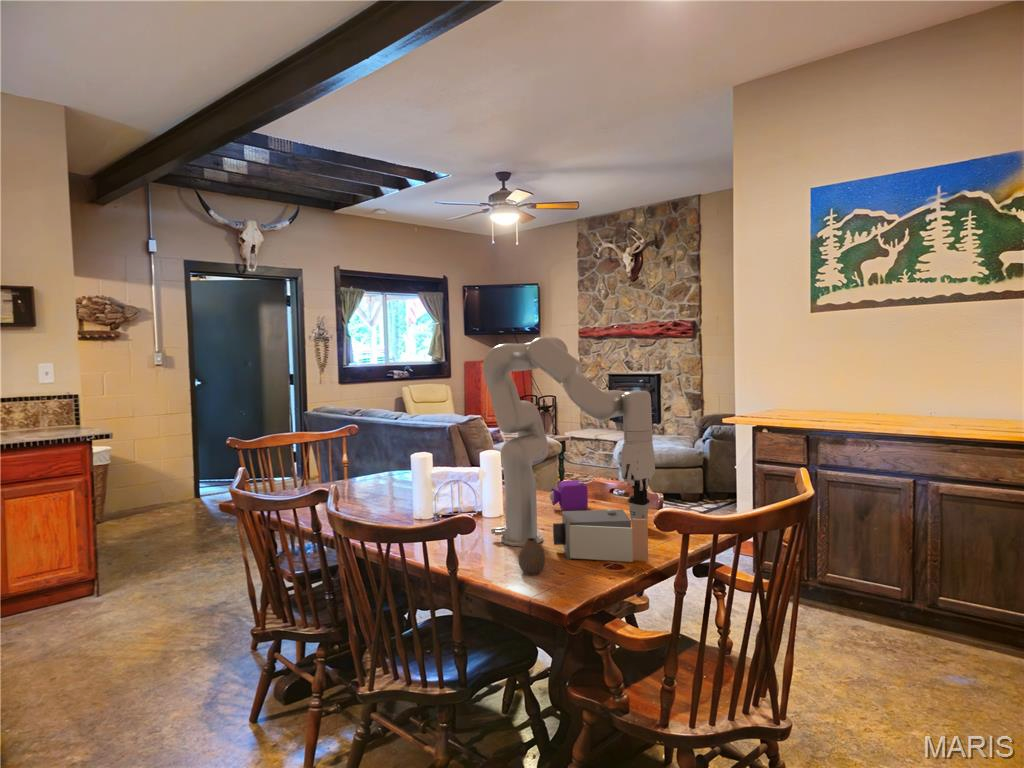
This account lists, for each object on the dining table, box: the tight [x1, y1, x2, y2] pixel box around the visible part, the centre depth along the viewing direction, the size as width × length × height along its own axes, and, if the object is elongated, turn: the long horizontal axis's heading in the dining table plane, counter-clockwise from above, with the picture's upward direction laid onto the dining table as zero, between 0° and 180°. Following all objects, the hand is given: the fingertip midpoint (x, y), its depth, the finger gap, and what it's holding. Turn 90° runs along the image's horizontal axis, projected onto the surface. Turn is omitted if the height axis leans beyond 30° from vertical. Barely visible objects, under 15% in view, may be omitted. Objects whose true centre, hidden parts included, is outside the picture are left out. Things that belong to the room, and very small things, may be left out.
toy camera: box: [549, 480, 589, 511], centre depth 221 cm, size 11×14×10 cm
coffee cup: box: [627, 494, 651, 525], centre depth 195 cm, size 7×7×10 cm
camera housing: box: [552, 508, 632, 559], centre depth 174 cm, size 21×12×11 cm, turn 90°
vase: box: [518, 538, 546, 576], centre depth 158 cm, size 7×7×9 cm
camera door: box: [565, 518, 649, 563], centre depth 165 cm, size 22×1×12 cm, turn 75°
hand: (640, 504), depth 164 cm, fingers closed
